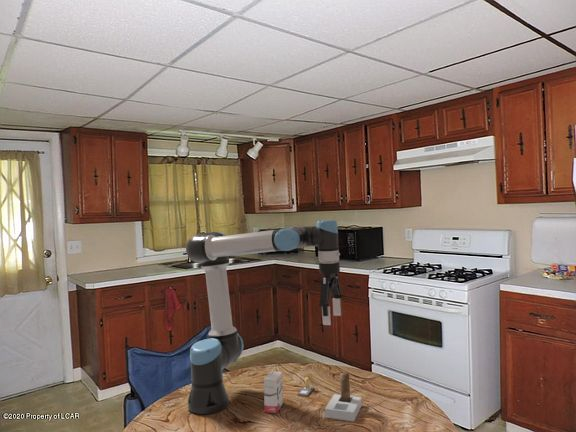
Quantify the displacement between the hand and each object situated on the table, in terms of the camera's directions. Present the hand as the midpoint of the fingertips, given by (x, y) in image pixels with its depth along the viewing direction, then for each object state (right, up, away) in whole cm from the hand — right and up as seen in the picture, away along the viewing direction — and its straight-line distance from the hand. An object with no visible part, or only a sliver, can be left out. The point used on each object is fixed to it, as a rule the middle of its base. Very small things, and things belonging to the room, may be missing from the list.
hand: (332, 320), depth 152 cm
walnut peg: (+5, -31, -3) cm, 31 cm away
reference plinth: (-9, -31, +12) cm, 35 cm away
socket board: (+3, -31, -6) cm, 31 cm away
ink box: (-21, -32, 0) cm, 38 cm away
